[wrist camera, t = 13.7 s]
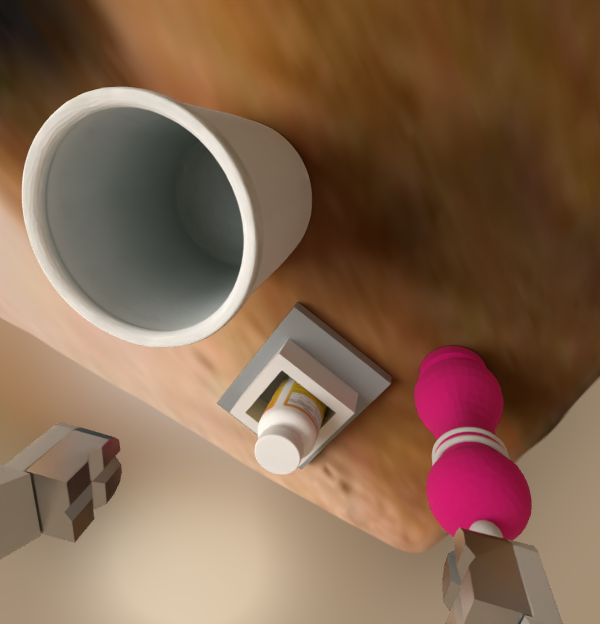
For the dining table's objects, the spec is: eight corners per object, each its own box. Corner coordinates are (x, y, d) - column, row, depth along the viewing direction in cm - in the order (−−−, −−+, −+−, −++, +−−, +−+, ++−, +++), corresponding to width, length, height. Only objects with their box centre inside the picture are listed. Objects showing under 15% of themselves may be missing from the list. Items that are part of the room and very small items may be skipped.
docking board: (222, 396, 48) (202, 421, 43) (297, 301, 42) (284, 319, 37) (304, 460, 48) (293, 492, 44) (391, 376, 42) (389, 403, 38)
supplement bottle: (287, 420, 45) (258, 485, 36) (271, 376, 44) (237, 432, 35) (335, 413, 44) (317, 479, 35) (320, 367, 42) (297, 423, 33)
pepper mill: (438, 326, 39) (465, 473, 21) (509, 363, 39) (597, 544, 21) (400, 384, 42) (394, 557, 24) (465, 419, 42) (509, 621, 24)
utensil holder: (303, 293, 42) (237, 378, 26) (166, 257, 44) (26, 315, 28) (335, 133, 36) (278, 115, 20) (176, 101, 38) (10, 61, 22)
